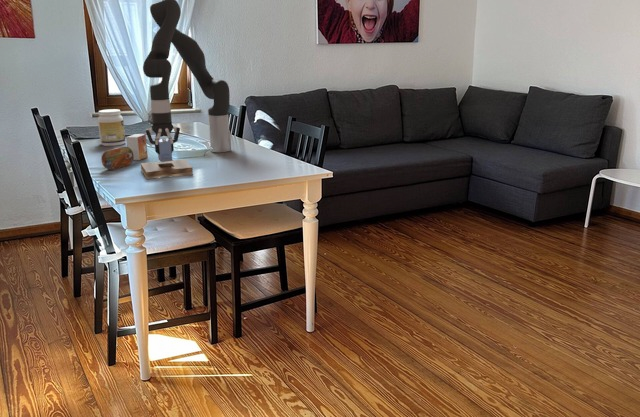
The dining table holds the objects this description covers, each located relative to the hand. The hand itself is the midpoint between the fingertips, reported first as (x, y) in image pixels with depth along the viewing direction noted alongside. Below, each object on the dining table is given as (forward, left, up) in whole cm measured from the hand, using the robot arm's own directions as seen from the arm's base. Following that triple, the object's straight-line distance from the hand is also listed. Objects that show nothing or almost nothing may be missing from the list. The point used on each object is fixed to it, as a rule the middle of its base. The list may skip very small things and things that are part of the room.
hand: (164, 152), depth 238 cm
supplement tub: (+14, -71, -8) cm, 73 cm away
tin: (+17, -18, -8) cm, 26 cm away
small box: (+7, -32, -8) cm, 34 cm away
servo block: (0, 0, -3) cm, 3 cm away
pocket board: (0, 0, -8) cm, 8 cm away
